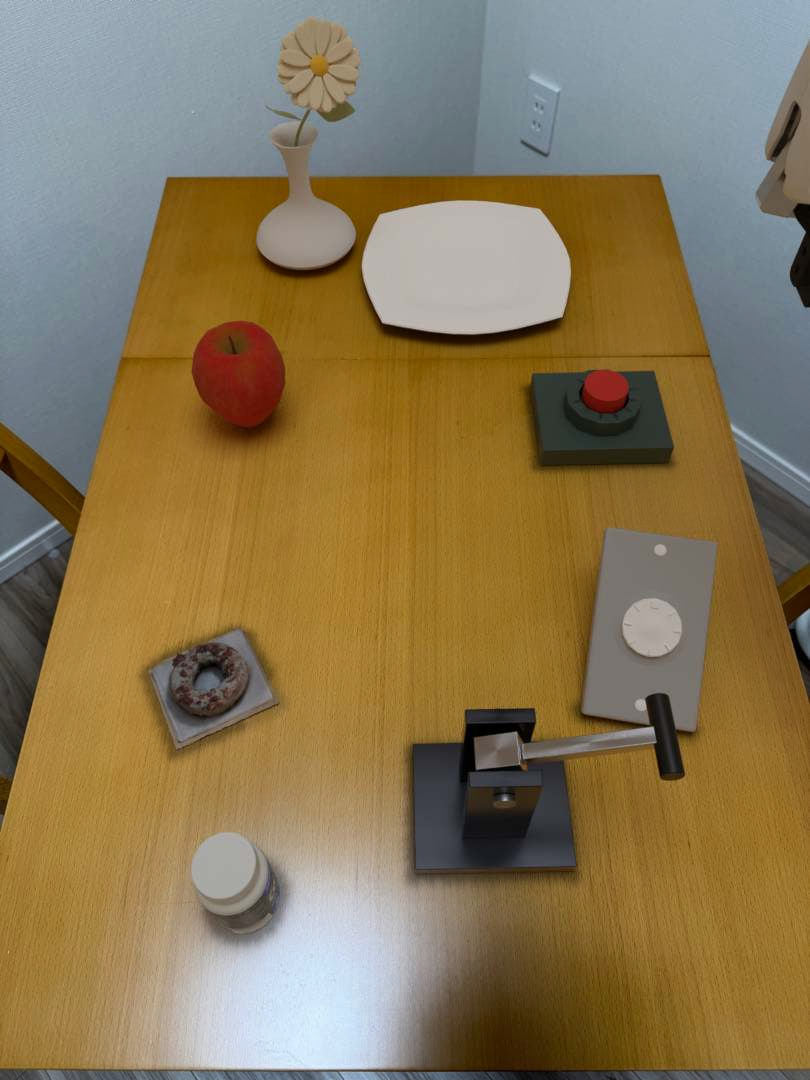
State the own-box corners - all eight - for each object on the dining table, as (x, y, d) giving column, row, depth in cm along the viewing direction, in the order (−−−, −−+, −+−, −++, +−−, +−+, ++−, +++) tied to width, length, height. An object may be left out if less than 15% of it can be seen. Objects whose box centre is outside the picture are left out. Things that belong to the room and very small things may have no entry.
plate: (362, 351, 89) (361, 336, 88) (361, 217, 102) (361, 202, 101) (583, 343, 89) (586, 329, 88) (553, 211, 103) (556, 196, 101)
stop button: (621, 382, 81) (624, 369, 80) (628, 413, 79) (632, 400, 77) (579, 383, 81) (581, 369, 80) (584, 414, 79) (587, 401, 77)
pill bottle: (292, 910, 58) (275, 880, 51) (228, 948, 57) (201, 922, 50) (263, 848, 60) (243, 811, 53) (201, 883, 59) (172, 849, 52)
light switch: (582, 715, 64) (607, 524, 65) (575, 709, 70) (598, 534, 71) (699, 734, 63) (722, 540, 64) (681, 726, 69) (702, 548, 70)
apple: (231, 379, 87) (209, 293, 78) (308, 398, 85) (295, 313, 77) (192, 439, 83) (164, 355, 74) (272, 460, 81) (254, 377, 72)
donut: (244, 625, 71) (239, 613, 69) (278, 704, 67) (275, 692, 65) (146, 667, 69) (139, 655, 67) (176, 750, 65) (169, 740, 63)
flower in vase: (252, 279, 96) (206, 47, 76) (265, 218, 103) (227, -11, 82) (367, 281, 96) (353, 47, 75) (373, 219, 102) (362, -11, 82)
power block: (649, 386, 86) (658, 356, 82) (668, 463, 80) (679, 434, 77) (529, 389, 86) (534, 359, 82) (540, 465, 80) (545, 437, 77)
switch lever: (670, 703, 53) (667, 687, 51) (686, 782, 50) (684, 768, 49) (480, 729, 56) (471, 715, 54) (486, 805, 53) (477, 793, 52)
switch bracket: (558, 746, 64) (583, 677, 55) (574, 871, 59) (604, 818, 49) (412, 749, 64) (411, 680, 55) (415, 874, 59) (414, 822, 50)
